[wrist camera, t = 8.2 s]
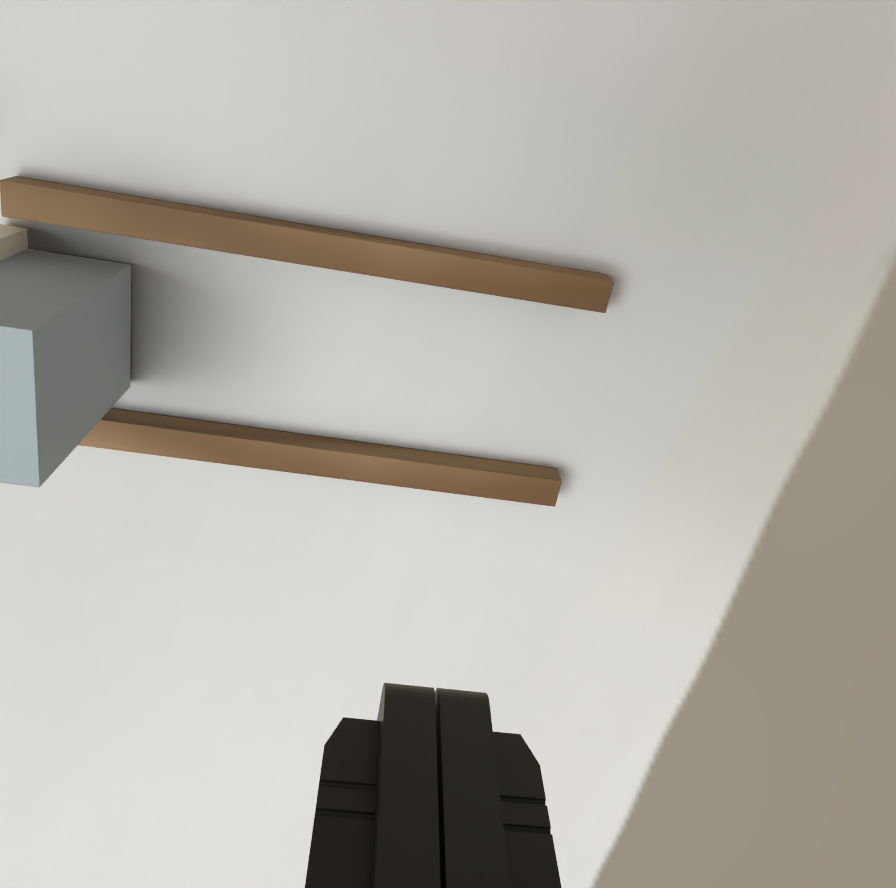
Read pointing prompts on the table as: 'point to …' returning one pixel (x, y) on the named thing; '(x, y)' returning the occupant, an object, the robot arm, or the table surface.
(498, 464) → the pair of wooden rails
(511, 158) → the table surface
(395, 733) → the robot arm
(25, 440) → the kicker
